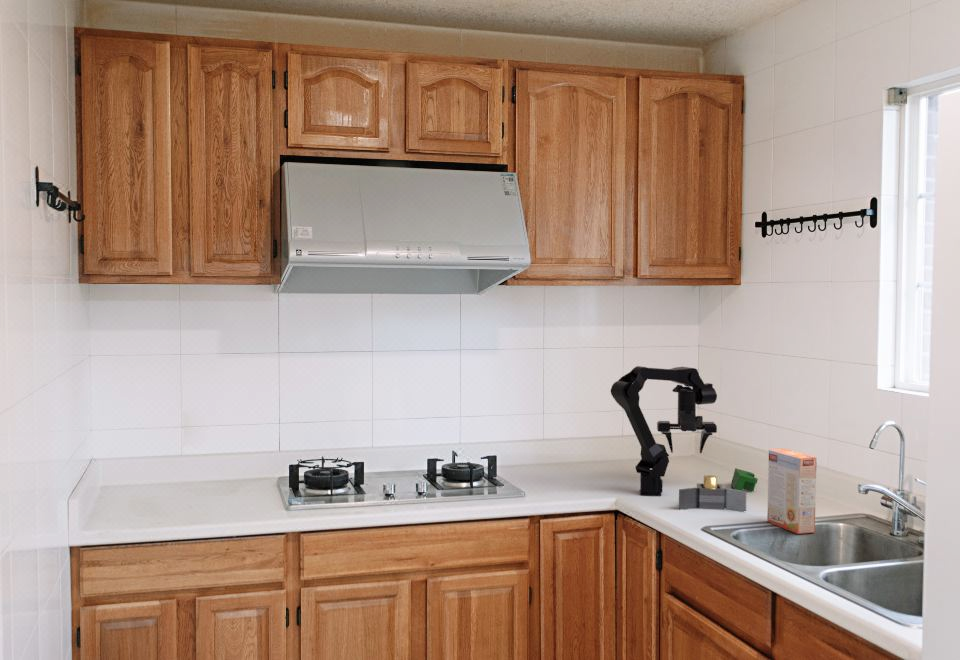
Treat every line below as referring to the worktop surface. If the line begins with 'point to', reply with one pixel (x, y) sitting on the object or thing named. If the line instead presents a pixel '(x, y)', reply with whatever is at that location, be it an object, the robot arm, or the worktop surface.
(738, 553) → the worktop surface
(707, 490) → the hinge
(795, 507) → the cracker box
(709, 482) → the pin
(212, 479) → the worktop surface
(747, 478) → the clamp
